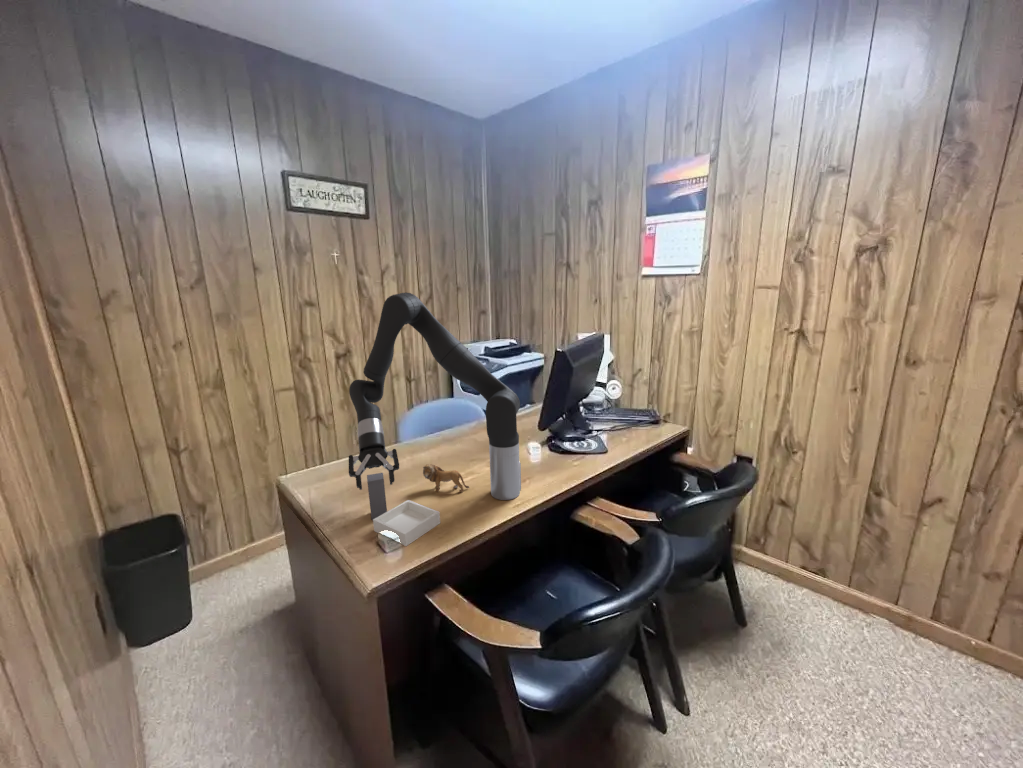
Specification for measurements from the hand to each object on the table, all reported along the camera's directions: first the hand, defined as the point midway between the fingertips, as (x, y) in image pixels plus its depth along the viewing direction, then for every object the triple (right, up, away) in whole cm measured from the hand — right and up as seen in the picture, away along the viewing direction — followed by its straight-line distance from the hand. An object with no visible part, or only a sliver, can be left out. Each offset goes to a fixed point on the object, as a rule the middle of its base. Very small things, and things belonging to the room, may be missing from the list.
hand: (376, 486), depth 122 cm
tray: (+11, -10, -6) cm, 16 cm away
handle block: (+1, -8, 0) cm, 8 cm away
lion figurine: (+18, -5, +14) cm, 23 cm away
